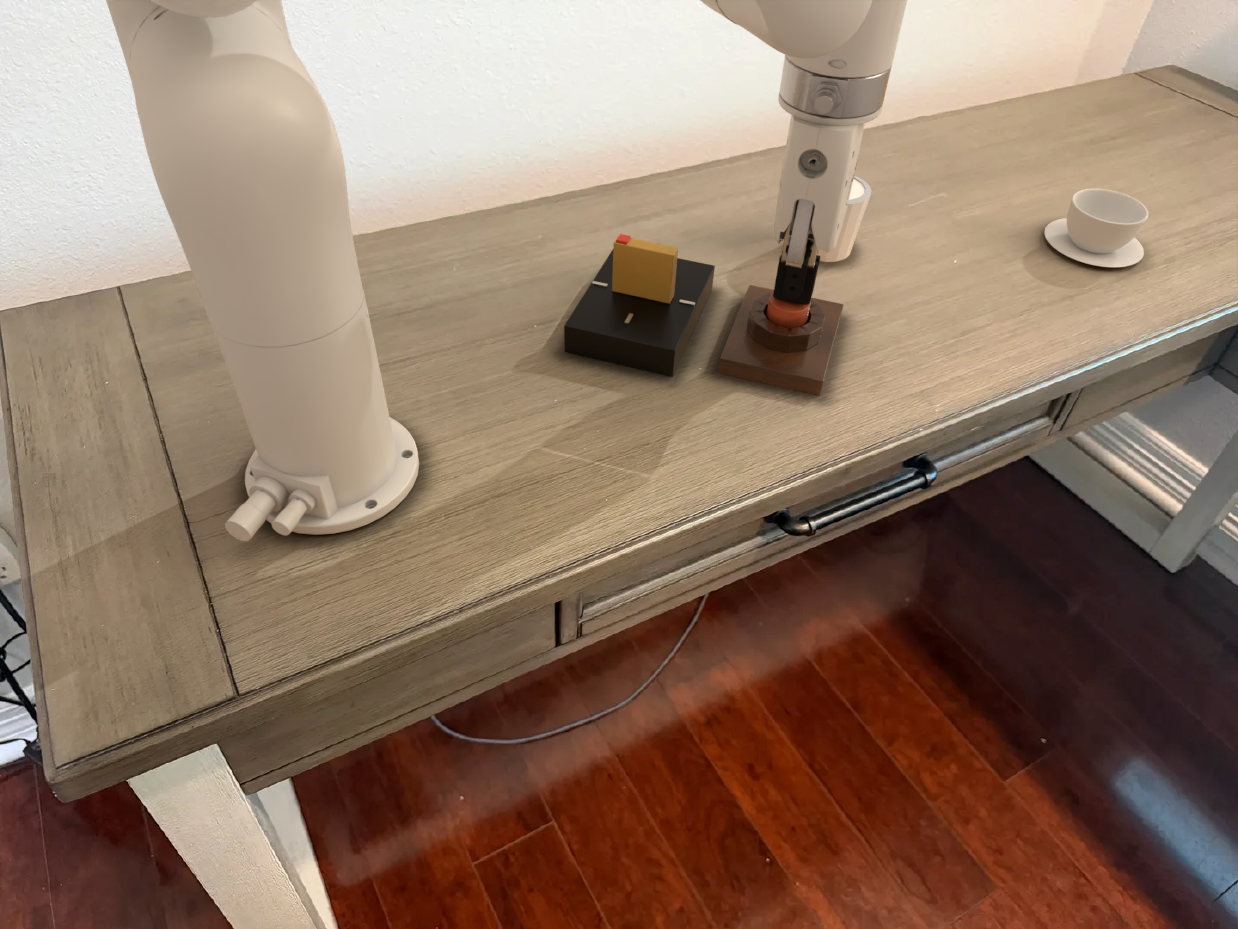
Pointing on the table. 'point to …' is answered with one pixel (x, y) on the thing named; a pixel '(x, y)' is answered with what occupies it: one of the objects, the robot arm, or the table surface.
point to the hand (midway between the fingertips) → (792, 296)
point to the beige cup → (850, 222)
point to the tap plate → (639, 320)
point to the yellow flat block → (644, 269)
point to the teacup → (1100, 229)
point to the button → (787, 312)
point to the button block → (780, 344)
